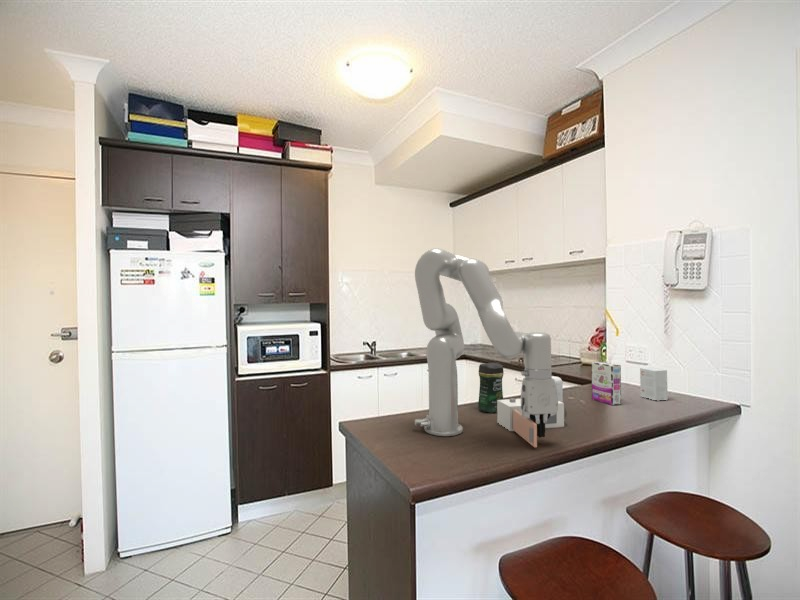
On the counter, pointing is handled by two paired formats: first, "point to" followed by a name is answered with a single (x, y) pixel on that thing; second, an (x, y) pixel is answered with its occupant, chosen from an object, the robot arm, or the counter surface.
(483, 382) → the coffee jar
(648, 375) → the small box
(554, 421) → the white box
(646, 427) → the counter surface
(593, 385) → the candy bar box
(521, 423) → the side door
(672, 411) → the counter surface
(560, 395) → the white rounded block
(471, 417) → the counter surface
